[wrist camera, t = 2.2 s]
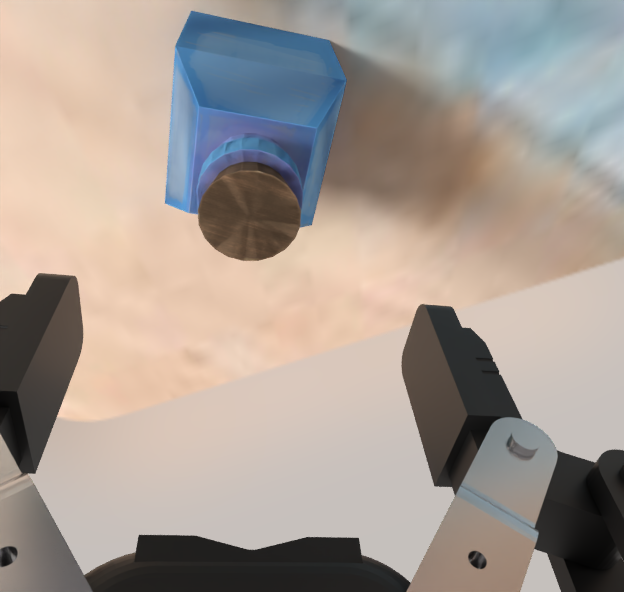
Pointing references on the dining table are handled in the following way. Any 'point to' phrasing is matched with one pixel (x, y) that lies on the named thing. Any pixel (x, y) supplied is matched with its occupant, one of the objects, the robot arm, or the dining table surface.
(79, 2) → the dining table surface
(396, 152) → the dining table surface
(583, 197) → the dining table surface
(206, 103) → the perfume bottle
